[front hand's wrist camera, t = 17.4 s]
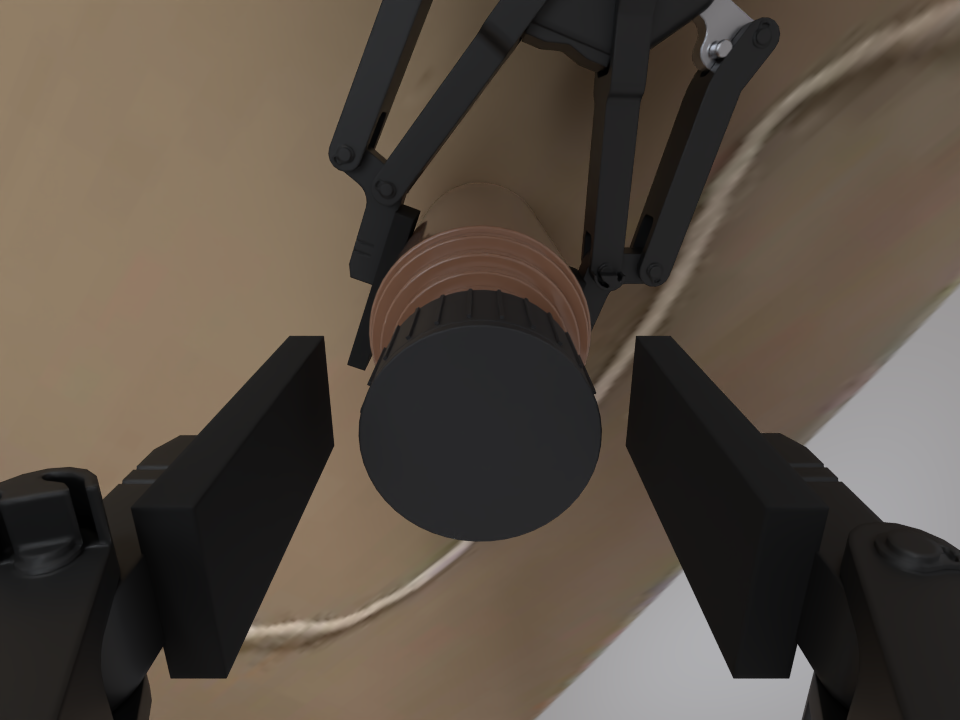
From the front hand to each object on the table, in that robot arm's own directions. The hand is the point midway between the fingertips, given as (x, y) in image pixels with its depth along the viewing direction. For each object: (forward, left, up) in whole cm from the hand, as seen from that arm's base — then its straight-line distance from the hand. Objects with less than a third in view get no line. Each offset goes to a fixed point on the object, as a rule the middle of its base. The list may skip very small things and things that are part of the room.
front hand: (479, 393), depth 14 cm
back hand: (-5, -2, -12) cm, 13 cm away
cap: (0, 0, 0) cm, 0 cm away
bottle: (0, 0, -19) cm, 19 cm away
